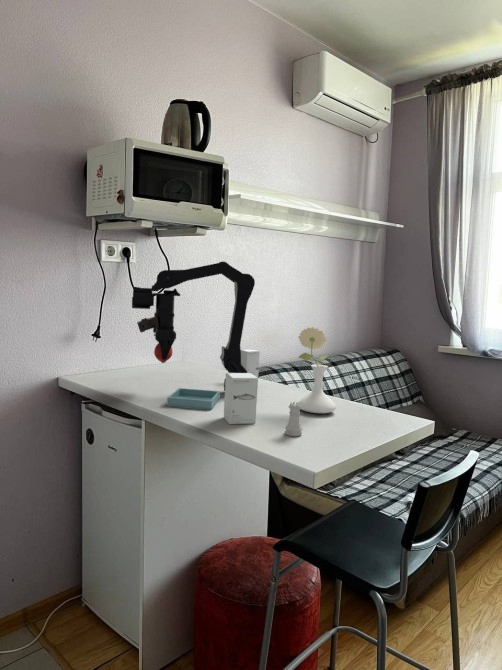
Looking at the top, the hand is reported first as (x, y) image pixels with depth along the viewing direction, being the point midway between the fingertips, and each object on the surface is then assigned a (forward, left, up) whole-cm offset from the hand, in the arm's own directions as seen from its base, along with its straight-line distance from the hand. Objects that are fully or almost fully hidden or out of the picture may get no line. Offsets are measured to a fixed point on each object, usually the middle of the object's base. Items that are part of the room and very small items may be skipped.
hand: (163, 358), depth 169 cm
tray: (-13, +10, -11) cm, 20 cm away
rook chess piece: (-44, +33, -12) cm, 56 cm away
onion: (0, 0, -2) cm, 2 cm away
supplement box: (-29, +25, -12) cm, 40 cm away
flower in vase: (-49, +8, -12) cm, 51 cm away
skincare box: (-25, -25, -12) cm, 37 cm away
